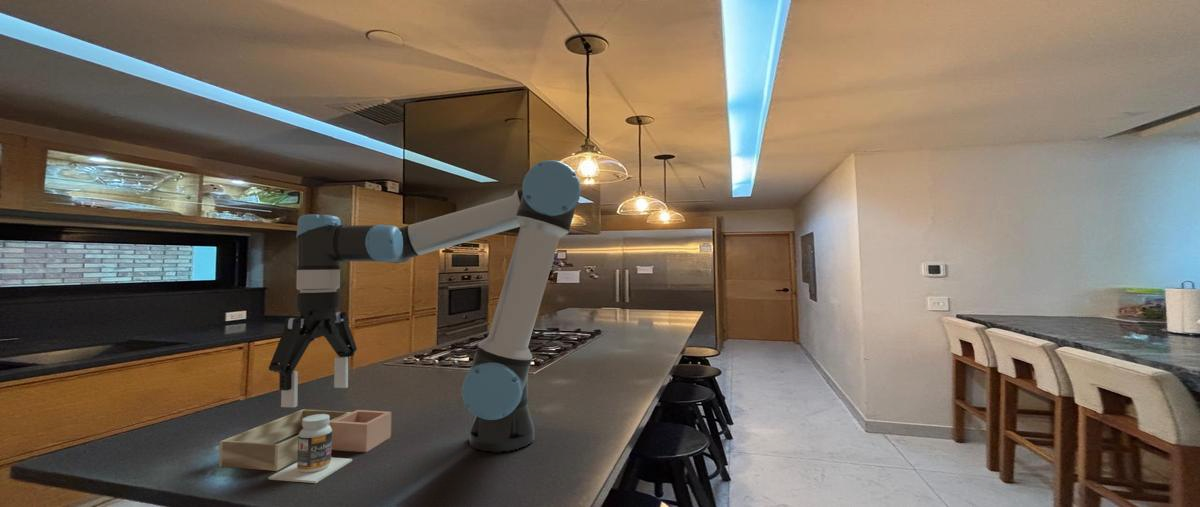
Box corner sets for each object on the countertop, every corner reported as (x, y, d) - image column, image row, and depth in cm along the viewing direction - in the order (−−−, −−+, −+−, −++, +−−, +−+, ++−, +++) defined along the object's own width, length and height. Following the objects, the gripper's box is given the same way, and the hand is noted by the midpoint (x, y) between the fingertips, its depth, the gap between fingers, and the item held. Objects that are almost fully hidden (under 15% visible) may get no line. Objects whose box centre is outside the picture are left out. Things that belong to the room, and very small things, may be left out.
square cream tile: (352, 460, 93) (352, 458, 93) (315, 483, 83) (315, 481, 83) (309, 457, 95) (309, 455, 95) (268, 479, 85) (268, 477, 85)
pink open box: (390, 437, 107) (391, 411, 107) (366, 452, 98) (367, 424, 98) (356, 434, 108) (357, 409, 108) (329, 449, 99) (330, 422, 99)
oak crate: (302, 429, 111) (303, 409, 111) (350, 432, 109) (351, 412, 110) (219, 466, 90) (220, 441, 90) (277, 470, 88) (278, 445, 89)
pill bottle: (314, 475, 86) (316, 423, 86) (289, 472, 87) (291, 420, 87) (337, 462, 91) (339, 414, 92) (313, 460, 93) (315, 412, 93)
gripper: (344, 288, 103) (343, 380, 103) (245, 294, 79) (243, 415, 78) (374, 288, 102) (373, 381, 102) (283, 294, 78) (281, 417, 77)
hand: (317, 396), depth 90 cm, fingers open, 13 cm apart
